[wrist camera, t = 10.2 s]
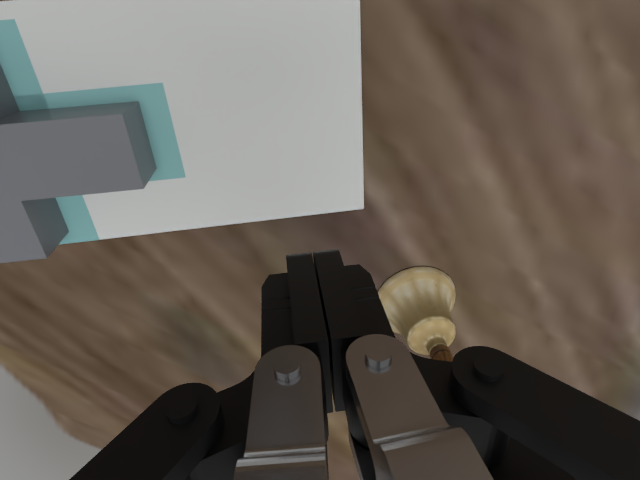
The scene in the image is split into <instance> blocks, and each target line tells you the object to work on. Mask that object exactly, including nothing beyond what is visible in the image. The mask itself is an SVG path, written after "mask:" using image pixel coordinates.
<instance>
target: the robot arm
mask: <svg viewBox="0 0 640 480" xmlns="http://www.w3.org/2000/svg"><path fill="white" fill-rule="evenodd" d="M286 260H287V271H288V273H281V274H272V275H269V276H268V278H267V279H266V281H265V282H264V284H263V286H262V336H261V358H260V360H259V361H258V363H257V365H256V367H255V371H254V372H253V373H252V374H251V375H250V376H249V377H248V378H246V379H245V380H244V381H242V382H240V383H239V384H236V385H234V386H232V387H230V388H227V389H225V390H222V391H220V392H218V393H216V391H215V390H214V389H213V388H211V387H210V386H208V385H205V384H201V383H187V384H182V385H179V386H176V387H174V388H172V389H170V390H168V391H167V392H165V393H164V394H162V395H161V396H160V397H159V398H158V399H157V400H156V401H154V402H153V403H152V404H151V405H150V406H149V407H148V408H147V409H146V410H145V411H144V412H143V413H141V414H140V415H139V416H138V417H137V418H136V419H135V420H134V421H133V422H132V423H131V424H129V425H128V426H127V427H126V428H125V429H124V430H123V431H122V432H121V433H120V434H119V435H117V436H116V437H115V438H114V439H113V440H112V441H111V442H110V443H109V444H108V445H107V446H106V447H104V448H103V449H102V450H101V451H100V452H99V453H98V454H97V455H96V456H95V457H94V458H93V459H91V460H90V461H89V462H88V463H87V464H86V465H85V466H84V467H83V468H82V469H80V471H78V472H77V473H76V474H75V475H74V476H73V477H72V478H71V479H70V480H329V472H328V456H327V440H328V435H329V432H328V418H327V413H331V412H333V405H332V394H333V399H334V405H335V411H336V412H337V411H344V410H345V411H346V416H347V421H348V431H349V443H350V447H351V450H352V454H353V457H354V461H355V464H356V468H357V472H358V475H359V479H360V480H640V421H639V420H637V419H635V418H633V417H631V416H629V415H627V414H625V413H623V412H621V411H619V410H617V409H615V408H613V407H611V406H609V405H607V404H605V403H603V402H601V401H599V400H597V399H595V398H593V397H591V396H589V395H587V394H585V393H583V392H581V391H579V390H577V389H575V388H573V387H571V386H569V385H567V384H565V383H563V382H561V381H559V380H557V379H555V378H553V377H551V376H549V375H547V374H545V373H543V372H541V371H539V370H538V369H536V368H534V367H532V366H530V365H528V364H526V363H524V362H522V361H520V360H518V359H516V358H514V357H512V356H510V355H508V354H506V353H504V352H502V351H499V350H497V349H494V348H490V347H484V346H473V347H468V348H465V349H463V350H461V351H459V352H458V353H457V354H456V355H455V356H454V358H453V361H452V362H450V361H442V360H434V359H428V358H423V357H420V356H417V355H415V354H412V353H411V352H409V350H408V349H407V347H406V346H405V345H404V344H403V343H402V342H400V341H399V340H397V339H396V338H395V336H394V333H393V331H392V328H391V325H390V323H389V320H388V318H387V315H386V313H385V310H384V308H383V305H382V302H381V300H380V299H379V295H378V292H377V290H376V289H375V284H374V282H373V279H372V277H371V274H370V273H369V272H367V271H366V270H365V269H364V268H363V267H362V266H360V265H359V264H358V265H349V266H344V265H343V261H342V258H341V255H340V252H339V249H336V250H327V251H318V252H313V258H312V253H311V252H310V253H301V254H292V255H286ZM313 260H314V263H313ZM331 388H332V390H331Z"/></svg>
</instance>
